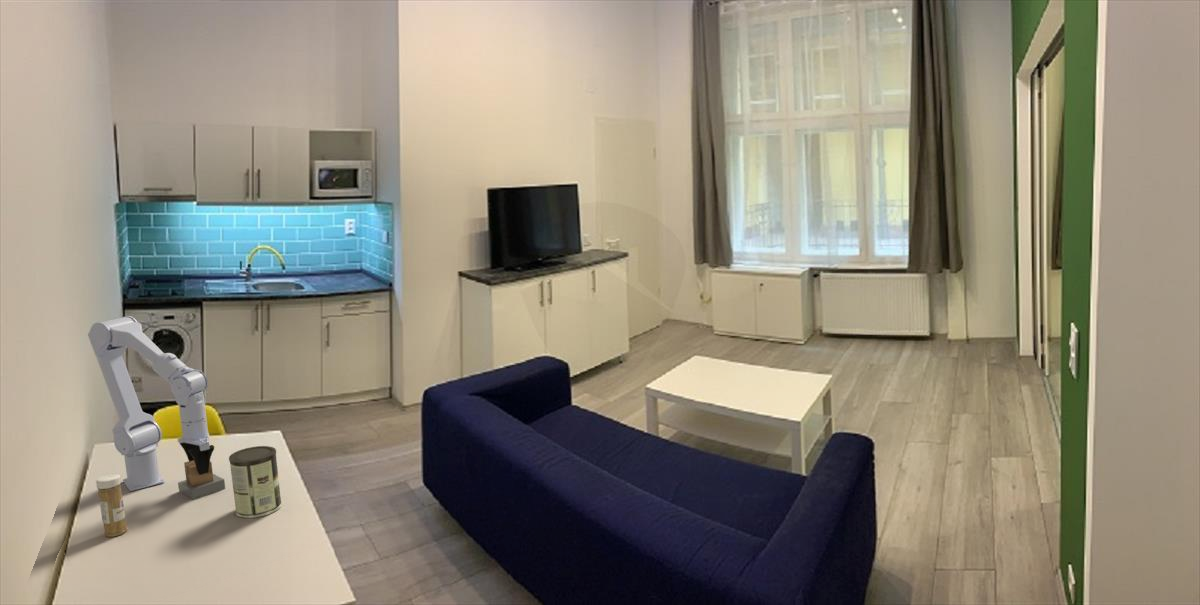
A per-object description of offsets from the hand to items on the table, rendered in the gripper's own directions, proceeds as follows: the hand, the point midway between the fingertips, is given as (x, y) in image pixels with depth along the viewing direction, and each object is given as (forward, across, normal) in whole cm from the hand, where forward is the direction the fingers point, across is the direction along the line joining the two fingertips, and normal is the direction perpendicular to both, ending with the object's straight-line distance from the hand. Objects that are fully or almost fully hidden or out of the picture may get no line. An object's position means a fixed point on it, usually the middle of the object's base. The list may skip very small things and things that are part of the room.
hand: (199, 470), depth 195 cm
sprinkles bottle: (+6, +11, -21) cm, 25 cm away
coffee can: (+6, +22, +6) cm, 24 cm away
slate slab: (+6, 0, 0) cm, 6 cm away
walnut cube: (+3, 0, 0) cm, 3 cm away
